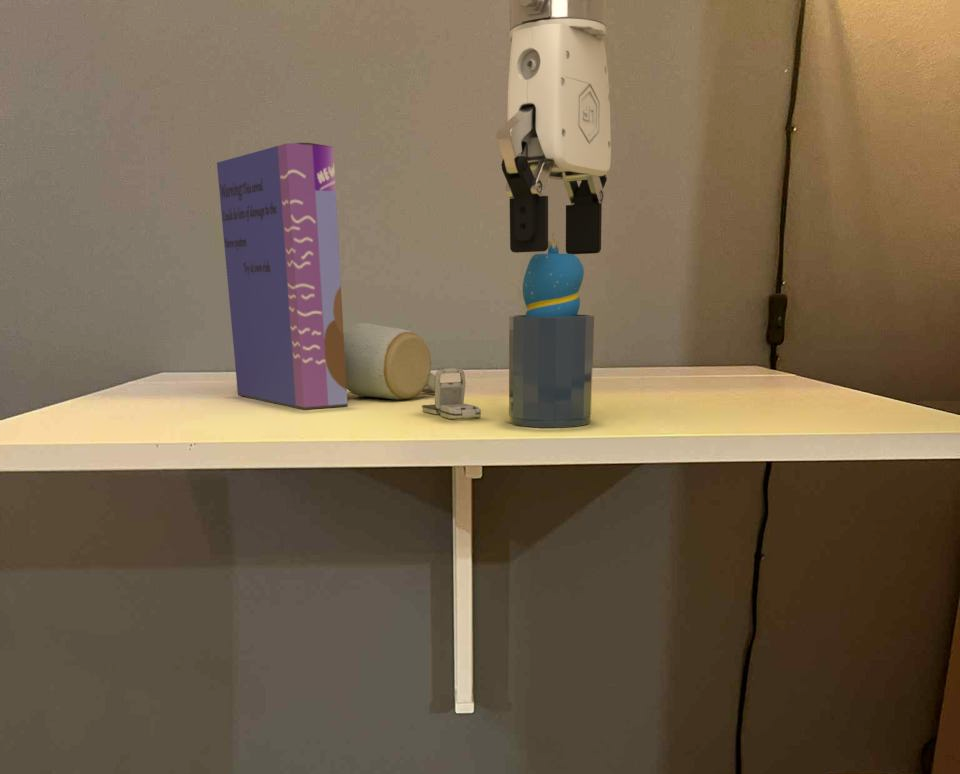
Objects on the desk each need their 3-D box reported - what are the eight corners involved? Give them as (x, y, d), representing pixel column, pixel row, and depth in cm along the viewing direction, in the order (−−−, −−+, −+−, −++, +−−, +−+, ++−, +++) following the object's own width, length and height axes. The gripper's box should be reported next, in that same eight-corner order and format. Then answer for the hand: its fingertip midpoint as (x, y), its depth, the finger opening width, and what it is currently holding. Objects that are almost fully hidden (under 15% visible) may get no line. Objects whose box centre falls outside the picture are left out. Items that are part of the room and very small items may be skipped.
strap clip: (484, 419, 90) (484, 370, 88) (453, 420, 89) (453, 372, 87) (447, 409, 97) (447, 364, 96) (419, 410, 96) (418, 365, 95)
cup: (604, 419, 88) (607, 314, 85) (567, 429, 83) (570, 317, 80) (534, 415, 92) (535, 314, 89) (494, 424, 86) (494, 316, 83)
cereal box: (347, 406, 100) (333, 144, 92) (304, 409, 97) (285, 140, 89) (277, 392, 114) (259, 162, 105) (238, 395, 111) (216, 160, 103)
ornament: (571, 410, 90) (575, 234, 85) (587, 417, 85) (592, 230, 80) (516, 412, 89) (517, 234, 84) (528, 419, 84) (530, 231, 79)
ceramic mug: (388, 403, 102) (386, 325, 99) (336, 397, 107) (332, 323, 104) (457, 396, 109) (457, 323, 107) (405, 391, 114) (404, 322, 112)
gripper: (548, -17, 68) (548, 249, 74) (646, 31, 82) (639, 252, 87) (457, 1, 72) (464, 253, 77) (565, 45, 85) (564, 256, 91)
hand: (557, 252), depth 82 cm, fingers open, 9 cm apart
